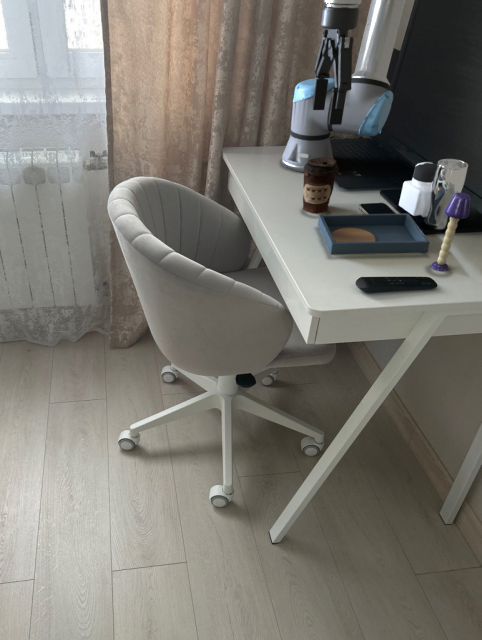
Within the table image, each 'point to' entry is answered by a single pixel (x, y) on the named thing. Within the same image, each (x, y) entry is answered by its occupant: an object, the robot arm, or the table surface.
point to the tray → (375, 233)
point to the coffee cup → (318, 184)
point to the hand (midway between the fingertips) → (326, 116)
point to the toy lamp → (452, 227)
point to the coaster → (352, 235)
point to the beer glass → (444, 191)
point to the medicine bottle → (418, 190)
